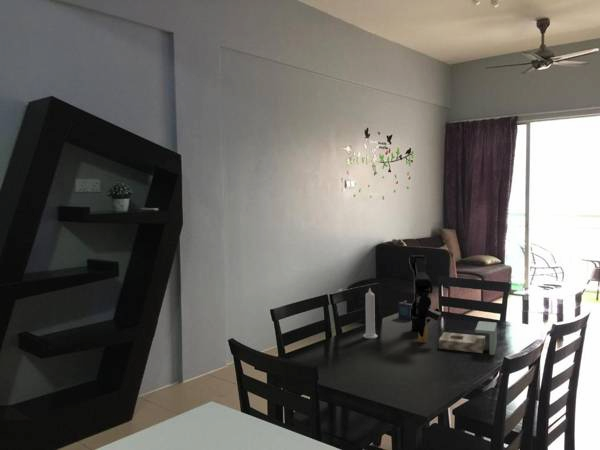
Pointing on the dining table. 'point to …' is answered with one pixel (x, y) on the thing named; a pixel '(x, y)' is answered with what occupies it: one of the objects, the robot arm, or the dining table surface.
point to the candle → (370, 315)
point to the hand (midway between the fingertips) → (422, 335)
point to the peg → (424, 338)
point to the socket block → (462, 342)
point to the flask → (404, 310)
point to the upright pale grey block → (490, 329)
